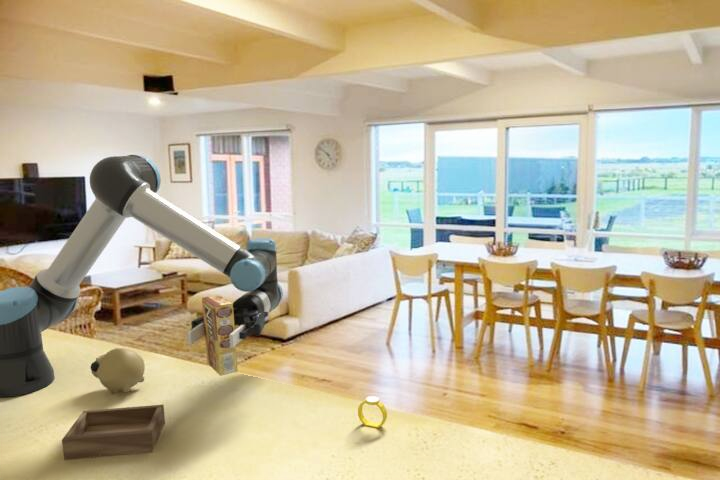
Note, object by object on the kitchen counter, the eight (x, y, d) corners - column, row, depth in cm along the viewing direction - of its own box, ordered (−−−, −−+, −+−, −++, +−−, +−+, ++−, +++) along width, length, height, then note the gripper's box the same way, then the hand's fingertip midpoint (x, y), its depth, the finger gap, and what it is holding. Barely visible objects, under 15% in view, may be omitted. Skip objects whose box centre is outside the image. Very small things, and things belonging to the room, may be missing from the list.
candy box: (238, 372, 124) (234, 302, 121) (219, 377, 122) (214, 306, 119) (223, 359, 131) (219, 294, 129) (205, 364, 129) (200, 297, 126)
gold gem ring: (387, 426, 119) (389, 399, 118) (382, 432, 117) (383, 405, 116) (361, 419, 122) (362, 392, 121) (355, 425, 119) (356, 398, 118)
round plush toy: (115, 379, 146) (111, 338, 144) (154, 384, 142) (151, 343, 140) (85, 395, 137) (80, 352, 135) (126, 401, 133) (122, 357, 131)
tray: (85, 428, 121) (83, 410, 120) (164, 422, 123) (163, 404, 122) (64, 459, 109) (61, 439, 108) (152, 451, 111) (150, 432, 110)
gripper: (292, 325, 141) (260, 359, 119) (210, 321, 145) (164, 354, 123) (291, 295, 140) (258, 324, 118) (208, 292, 144) (161, 320, 122)
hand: (210, 339), depth 121 cm, fingers closed on candy box, 9 cm apart
